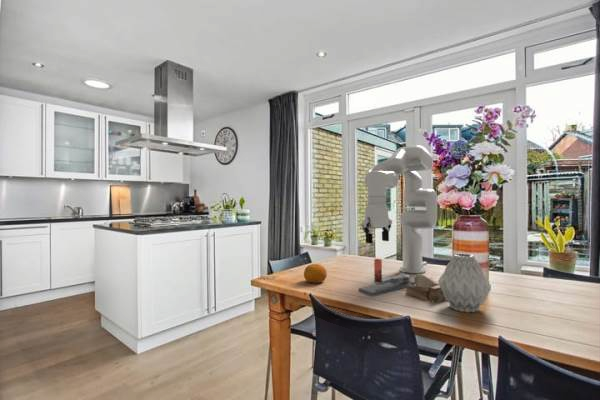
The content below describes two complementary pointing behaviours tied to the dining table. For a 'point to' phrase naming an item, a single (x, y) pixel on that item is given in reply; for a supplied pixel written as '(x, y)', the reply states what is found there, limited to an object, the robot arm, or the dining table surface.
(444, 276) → the vase
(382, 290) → the flat grey bar
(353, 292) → the dining table surface
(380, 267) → the lever
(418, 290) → the cradle
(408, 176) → the robot arm
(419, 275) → the stone
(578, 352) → the dining table surface
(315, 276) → the fruit
